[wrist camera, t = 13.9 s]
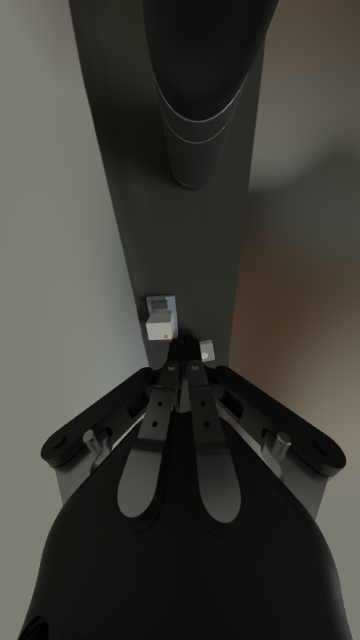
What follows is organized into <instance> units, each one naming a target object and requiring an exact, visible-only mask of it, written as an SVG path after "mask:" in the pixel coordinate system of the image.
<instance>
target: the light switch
mask: <svg viewBox="0 0 360 640" xmlns="http://www.w3.org/2000/svg"><path fill="white" fill-rule="evenodd" d="M199 343H200V348H201V355H202V361H203V362H204V361H210V360H215V357H214V351H213V346H212V341H211V340H207V341H202V342H199ZM207 354H208V355H207Z"/></svg>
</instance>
